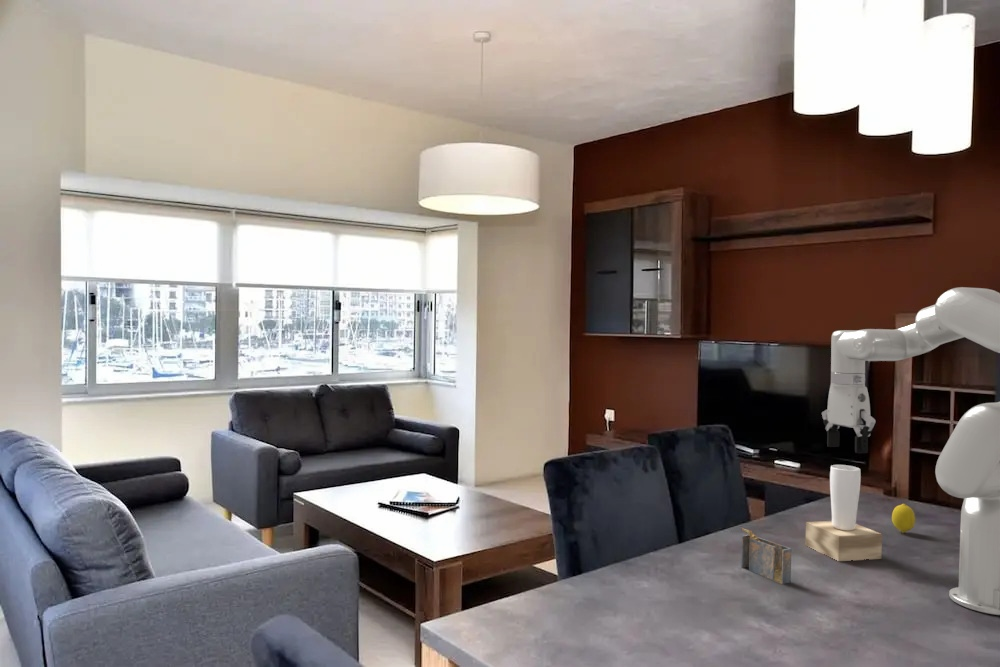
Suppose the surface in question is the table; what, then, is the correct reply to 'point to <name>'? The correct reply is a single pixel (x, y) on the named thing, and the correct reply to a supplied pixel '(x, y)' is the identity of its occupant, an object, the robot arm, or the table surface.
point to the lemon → (903, 518)
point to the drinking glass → (844, 495)
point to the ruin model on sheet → (766, 558)
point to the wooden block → (843, 541)
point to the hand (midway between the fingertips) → (846, 449)
